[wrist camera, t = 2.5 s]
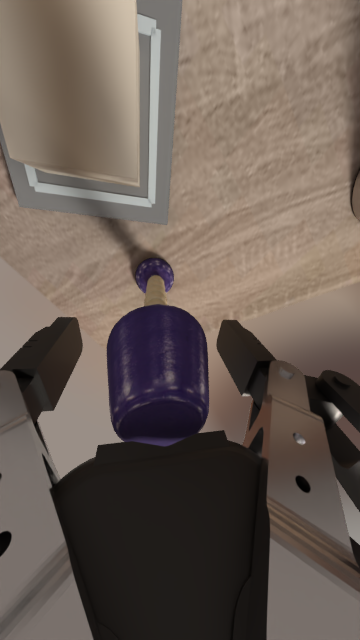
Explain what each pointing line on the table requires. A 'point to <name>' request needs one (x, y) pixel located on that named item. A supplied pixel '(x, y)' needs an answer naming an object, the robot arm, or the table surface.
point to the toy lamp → (157, 366)
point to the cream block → (72, 87)
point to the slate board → (155, 137)
